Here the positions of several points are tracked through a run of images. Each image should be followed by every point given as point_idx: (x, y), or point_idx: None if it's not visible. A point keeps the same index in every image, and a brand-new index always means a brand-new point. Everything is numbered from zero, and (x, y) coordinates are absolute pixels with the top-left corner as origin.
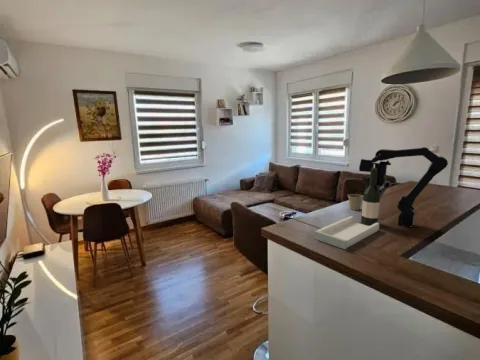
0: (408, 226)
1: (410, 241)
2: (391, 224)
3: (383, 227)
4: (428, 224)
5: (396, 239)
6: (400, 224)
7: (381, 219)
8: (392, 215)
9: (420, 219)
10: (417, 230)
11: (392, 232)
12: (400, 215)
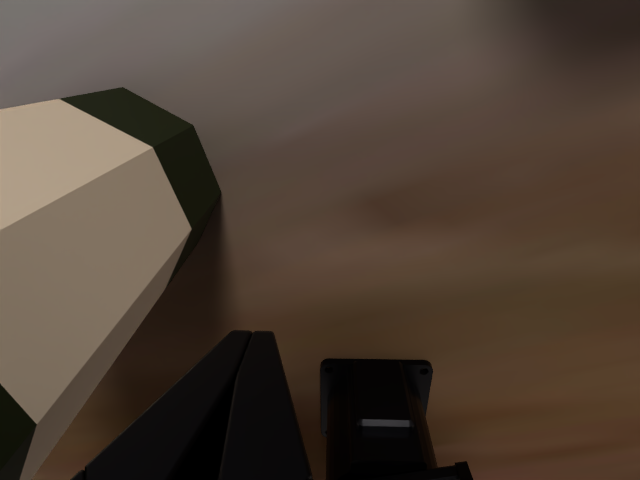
0: (321, 424)
1: (75, 471)
2: (294, 324)
3: (154, 309)
4: (510, 471)
5: None
6: (323, 381)
7: (379, 212)
8: (632, 237)
9: (626, 421)
10: (309, 457)
11: (113, 381)
12: (350, 439)
